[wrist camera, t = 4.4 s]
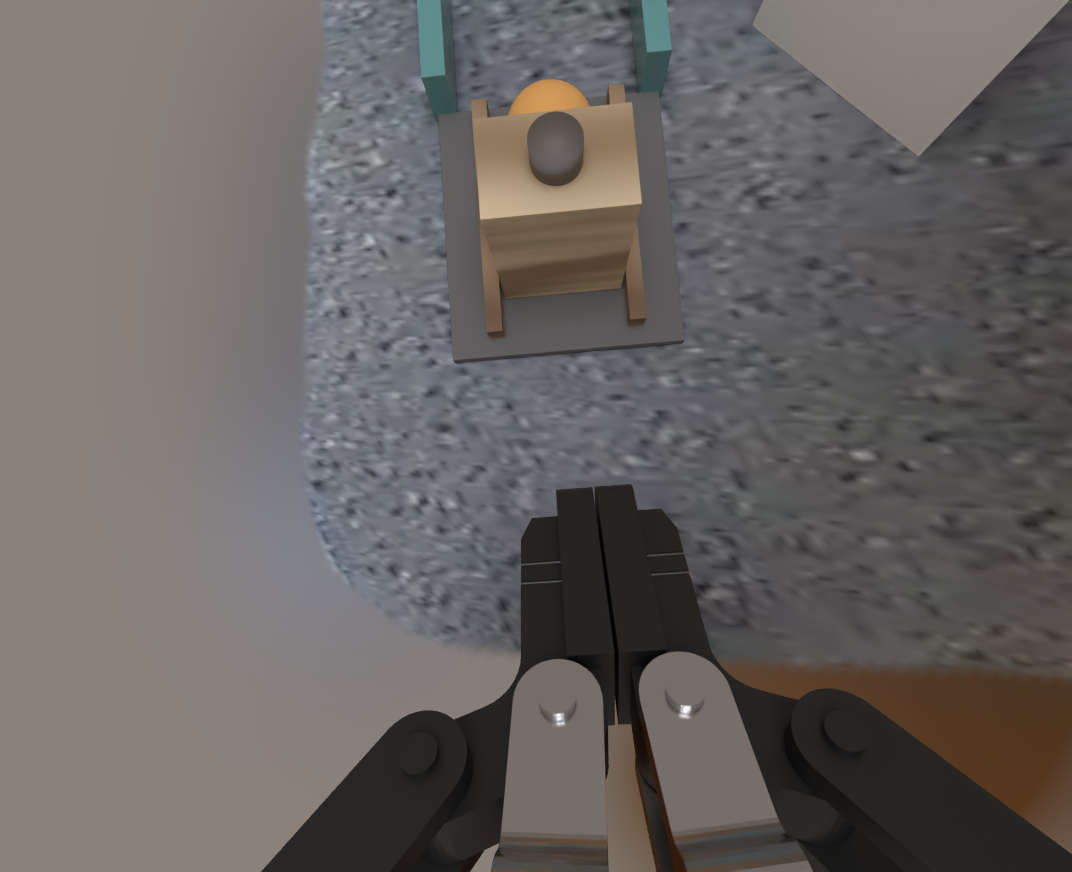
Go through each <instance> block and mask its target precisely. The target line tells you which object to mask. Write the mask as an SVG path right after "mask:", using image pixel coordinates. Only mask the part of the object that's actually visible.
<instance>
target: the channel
mask: <svg viewBox="0 0 1072 872" xmlns="http://www.w3.org/2000/svg"><path fill="white" fill-rule="evenodd" d="M619 103H626V101H625V91H624V84H616V85H608V94H607V105H610V104H619ZM471 108H472V123H473V138H474V152H475V167H476V182H477V197H478V211H479V226H480V241H481V256H482V270H483V285H484V300H485V315H486V329H487V334H488V336H489V338H500V337H505V329H504V315H503V301H502V287H501V282H500V279H499V276H498V273H497V270H496V267H495V264H494V260H493V257H492V254H491V251H490V248H489V245H488V242H487V239H486V236H485V233H484V230H483V226H482V223H481V220H480V208H479V194H478V179H477V164H476V150H475V135H474V120H473V119H479V118H488V117H489V110H488V105H487V101H486V99H477V100H471ZM623 280H624V290H625V301H626V312H627V323H628V326H635V325H643V324H644V322H645V320H646V309H645V298H644V288H643V278H642V267H641V257H640V247H639V236H638V226H637V225H636V229H635V233H634V237H633V241H632V245H631V249H630V253H629V257H628V261H627V265H626V269H625V273H624V277H623Z"/></svg>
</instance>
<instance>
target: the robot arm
mask: <svg viewBox="0 0 1072 872" xmlns="http://www.w3.org/2000/svg"><path fill="white" fill-rule="evenodd" d="M556 495H557V510H558V516H556V517H542V518H532V519H531V521H530V523H529V525H528V527H527V529H526V531H525V533H524V535H523V537H522V539H521V663H520V667H519V671H518V674H517V676H516V679H515V680H514V682H513V684H512V685H511V687H510V688H509V689H508V690H507V691H506V693H504V694H503V695H502V696H501V697H500V698H499V699H497V700H496V701H495V702H493V703H491V704H489V705H488V706H485V707H483V708H481V709H478V710H476V711H474V712H471V713H469V714H467V715H464V716H462V717H459V718H457V719H455V720H453V719H452V718H451V717H449V716H448V715H446V714H444V713H441V712H437V711H419V712H415V713H412V714H410V715H407V716H406V717H404V718H402V719H400V720H399V721H398V722H396V723H395V724H394V725H393V726H392V727H390V728H389V729H388V731H387V732H386V733H385V734H384V735H383V736H382V737H381V738H380V740H379V741H378V742H377V743H376V744H375V745H374V746H373V747H372V748H371V749H370V751H369V752H368V753H367V754H366V755H365V756H364V757H363V758H362V760H361V761H360V762H359V763H358V764H357V765H356V766H355V767H354V769H353V770H352V771H351V772H350V773H349V774H348V775H347V777H346V778H345V779H344V780H343V781H342V782H341V783H340V784H339V785H338V786H337V788H336V789H335V790H334V791H333V792H332V793H331V794H330V795H329V797H328V798H327V799H326V800H325V801H324V802H323V803H322V804H321V805H320V807H319V808H318V809H317V810H316V811H315V812H314V813H313V814H312V815H311V817H310V818H309V819H308V820H307V821H306V822H305V823H304V824H303V826H302V827H301V828H300V829H299V830H298V831H297V832H296V833H295V835H294V836H293V837H292V838H291V839H290V840H289V841H288V842H287V843H286V845H285V846H284V847H283V848H282V849H281V850H280V851H279V852H278V853H277V855H276V856H275V857H274V858H273V859H272V860H271V861H270V862H269V864H268V865H267V866H266V867H265V868H264V869H263V870H262V872H470V871H471V869H472V868H473V867H474V865H475V863H476V862H477V861H478V859H479V858H480V856H481V855H482V853H483V852H484V850H485V849H488V848H490V847H492V846H494V845H496V844H498V843H499V847H498V850H497V851H496V853H495V856H494V859H493V863H492V868H491V872H608V844H607V815H606V814H607V812H606V778H607V774H608V768H609V764H608V725H615V714H614V713H615V709H614V707H615V701H616V709H617V717H618V724H631V725H632V732H633V739H634V746H635V753H636V758H635V771H636V777H637V781H638V786H639V791H640V796H641V800H642V805H643V810H644V815H645V819H646V824H647V829H648V834H649V838H650V843H651V848H652V853H653V857H654V862H655V867H656V872H1072V854H1071V853H1069V852H1068V851H1067V850H1065V849H1064V848H1062V847H1061V846H1060V845H1058V844H1057V843H1056V842H1054V841H1053V840H1052V839H1050V838H1049V837H1048V836H1046V835H1045V834H1044V833H1042V832H1041V831H1040V830H1038V829H1037V828H1035V827H1034V826H1033V825H1032V824H1030V823H1029V822H1028V821H1026V820H1025V819H1024V818H1022V817H1021V816H1020V815H1018V814H1017V813H1015V812H1014V811H1013V810H1011V809H1010V808H1008V807H1007V806H1006V805H1004V804H1003V803H1002V802H1001V801H999V800H998V799H997V798H995V797H994V796H993V795H991V794H989V792H987V791H986V790H985V789H983V788H982V787H981V786H979V785H978V784H976V783H975V782H974V781H972V780H971V779H970V778H968V777H967V776H965V775H964V774H963V773H962V772H960V771H959V770H958V769H956V768H955V767H954V766H952V765H951V764H950V763H948V762H947V761H946V760H944V759H943V758H942V757H940V756H939V755H937V754H936V753H935V752H933V751H932V750H931V749H929V748H928V747H927V746H925V745H924V744H923V743H921V742H920V741H919V740H917V739H916V738H915V737H913V736H912V735H911V734H909V733H908V732H907V731H905V730H904V729H902V728H901V727H900V726H899V725H897V724H896V723H895V722H893V721H892V720H891V719H889V718H888V717H887V716H885V715H884V714H882V713H881V712H880V711H878V710H877V709H876V708H874V707H873V706H872V705H870V704H869V703H867V702H866V701H864V700H863V699H861V698H860V697H857V696H855V695H853V694H851V693H848V692H845V691H842V690H837V689H817V690H814V691H811V692H809V693H807V694H805V695H804V696H803V697H802V698H800V699H799V700H796V699H792V698H787V697H784V696H780V695H776V694H772V693H768V692H765V691H761V690H758V689H755V688H751V687H749V686H747V685H745V684H743V683H741V682H739V681H738V680H736V679H735V678H733V677H732V676H731V675H729V674H728V673H727V672H726V671H725V670H724V669H723V668H722V667H721V666H720V664H719V663H718V662H717V660H716V659H715V657H714V655H713V654H712V652H711V649H710V646H709V643H708V640H707V636H706V632H705V629H704V625H703V621H702V618H701V614H700V610H699V607H698V603H697V599H696V596H695V592H694V588H693V585H692V581H691V577H690V575H689V572H688V566H687V563H686V559H685V556H684V554H683V548H682V544H681V541H680V537H679V533H678V530H677V527H676V526H675V525H674V524H673V523H672V521H671V520H670V519H669V518H668V517H667V516H666V514H665V513H664V512H663V511H662V510H661V509H650V510H637V505H636V501H635V496H634V491H633V487H632V485H631V484H627V485H614V486H600V487H595V503H594V496H593V489H592V487H589V488H576V489H562V490H556ZM614 700H615V701H614Z"/></svg>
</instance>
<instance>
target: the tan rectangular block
mask: <svg viewBox="0 0 1072 872" xmlns="http://www.w3.org/2000/svg"><path fill="white" fill-rule="evenodd" d="M473 120H474V135H475V150H476V164H477V179H478V194H479V208H480V220H481V223H482V226H483V230H484V233H485V236H486V239H487V242H488V245H489V248H490V251H491V254H492V257H493V260H494V264H495V267H496V270H497V273H498V276H499V279H500V282H501V285H502V288H503V291H504V294H505V298H506V299H511V298H522V297H533V296H544V295H555V294H566V293H577V292H588V291H599V290H610V289H621V285H622V281H623V277H624V273H625V269H626V265H627V261H628V257H629V253H630V249H631V245H632V241H633V237H634V233H635V229H636V225H637V221H638V217H639V213H640V209H641V205H642V200H641V190H640V179H639V169H638V159H637V149H636V138H635V128H634V118H633V108H632V102H629V103H619V104H610V105H601V106H591V107H582V108H573V109H563V110H554V111H545V112H535V113H526V114H516V115H507V116H498V117H488V118H479V119H473Z"/></svg>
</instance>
